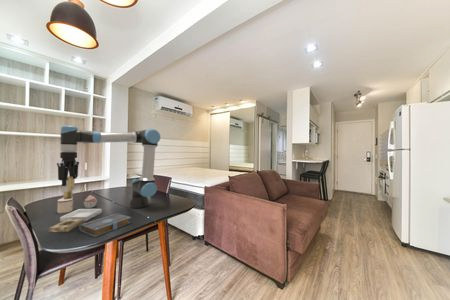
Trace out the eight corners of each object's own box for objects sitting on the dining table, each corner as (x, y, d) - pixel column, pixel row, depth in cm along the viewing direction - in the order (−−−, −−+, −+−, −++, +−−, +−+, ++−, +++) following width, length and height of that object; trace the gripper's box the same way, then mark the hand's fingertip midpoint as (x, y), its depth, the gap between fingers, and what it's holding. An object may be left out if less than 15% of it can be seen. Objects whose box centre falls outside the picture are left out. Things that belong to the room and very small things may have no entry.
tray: (101, 212, 128) (101, 208, 128) (86, 221, 112) (86, 216, 112) (78, 213, 127) (78, 209, 127) (59, 221, 111) (59, 217, 111)
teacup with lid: (75, 210, 132) (75, 195, 132) (59, 214, 124) (60, 198, 124) (68, 208, 137) (68, 193, 137) (52, 211, 129) (53, 196, 129)
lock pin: (74, 197, 106) (74, 176, 106) (68, 199, 102) (69, 177, 102) (67, 197, 105) (67, 176, 106) (61, 199, 101) (62, 177, 102)
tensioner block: (83, 223, 110) (83, 219, 110) (67, 231, 98) (67, 227, 98) (66, 223, 109) (66, 219, 109) (48, 232, 97) (48, 227, 97)
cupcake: (99, 207, 141) (99, 194, 141) (85, 210, 133) (85, 197, 133) (94, 204, 146) (95, 193, 146) (81, 207, 139) (81, 195, 139)
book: (115, 218, 119) (116, 211, 119) (131, 223, 111) (131, 215, 111) (79, 231, 100) (79, 222, 100) (95, 238, 92) (95, 228, 93)
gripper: (73, 151, 112) (72, 187, 112) (49, 151, 95) (48, 193, 95) (85, 151, 113) (85, 187, 112) (63, 151, 96) (62, 193, 96)
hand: (68, 190), depth 104 cm, fingers closed on lock pin, 4 cm apart
